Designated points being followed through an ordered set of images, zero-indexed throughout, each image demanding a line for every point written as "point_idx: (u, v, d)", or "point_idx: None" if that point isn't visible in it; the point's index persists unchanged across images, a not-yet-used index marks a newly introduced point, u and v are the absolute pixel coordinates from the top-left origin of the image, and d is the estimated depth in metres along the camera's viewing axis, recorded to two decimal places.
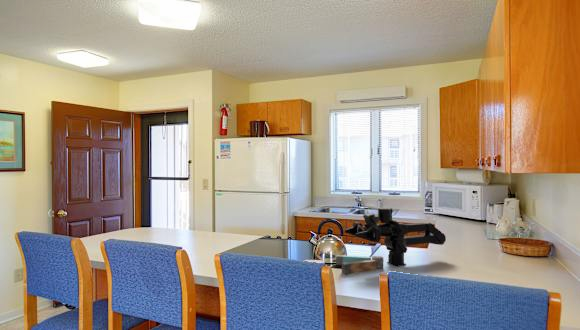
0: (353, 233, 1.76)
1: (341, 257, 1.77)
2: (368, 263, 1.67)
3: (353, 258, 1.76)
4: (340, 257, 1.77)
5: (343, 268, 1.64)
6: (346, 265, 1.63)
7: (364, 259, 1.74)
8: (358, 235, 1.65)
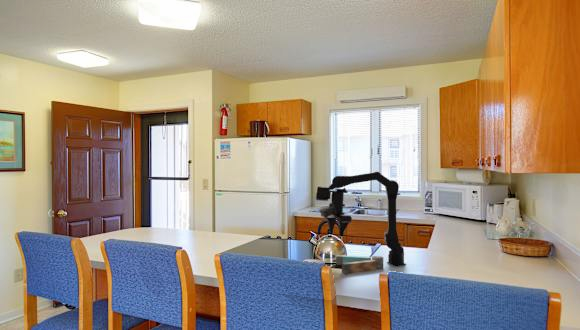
0: (333, 221, 1.89)
1: (341, 257, 1.77)
2: (368, 263, 1.67)
3: (353, 258, 1.76)
4: (340, 257, 1.77)
5: (343, 268, 1.64)
6: (346, 265, 1.63)
7: (364, 259, 1.74)
8: (341, 233, 1.79)
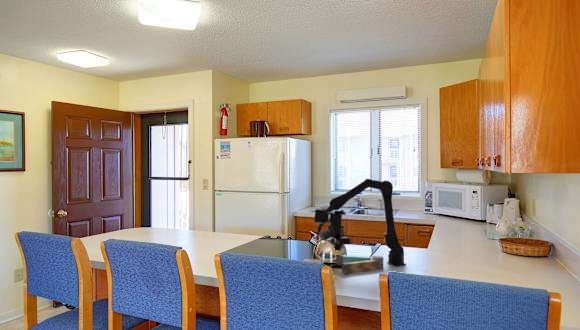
0: None
1: (341, 257, 1.77)
2: (368, 263, 1.67)
3: (353, 258, 1.76)
4: (340, 257, 1.77)
5: (343, 268, 1.64)
6: (346, 265, 1.63)
7: (364, 259, 1.74)
8: None
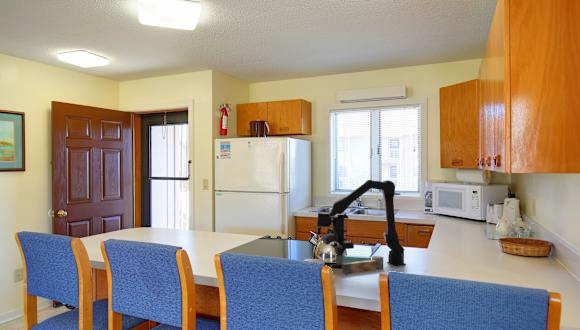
0: None
1: (341, 257, 1.76)
2: (368, 263, 1.67)
3: (353, 258, 1.75)
4: (340, 257, 1.77)
5: (343, 268, 1.64)
6: (346, 265, 1.63)
7: (364, 259, 1.74)
8: None
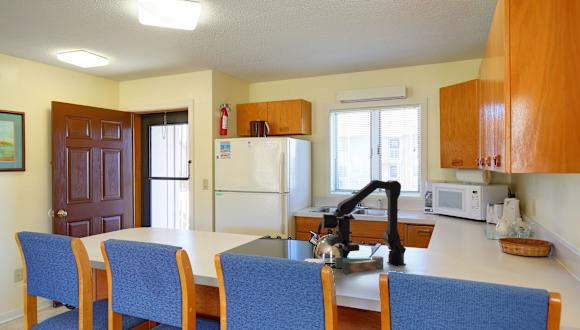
0: None
1: (341, 259, 1.72)
2: (368, 263, 1.67)
3: (353, 260, 1.73)
4: (340, 260, 1.72)
5: (343, 268, 1.64)
6: (346, 265, 1.63)
7: (364, 260, 1.73)
8: None
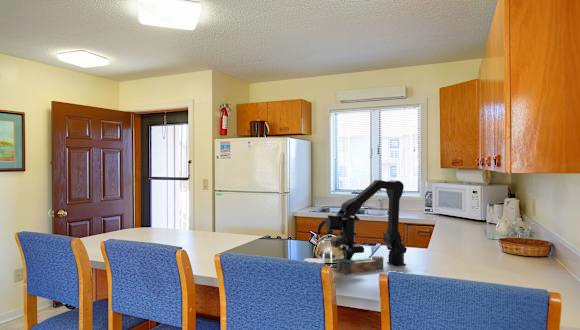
0: None
1: (344, 262, 1.68)
2: (368, 263, 1.67)
3: None
4: (343, 262, 1.67)
5: (343, 268, 1.64)
6: (346, 265, 1.63)
7: None
8: None
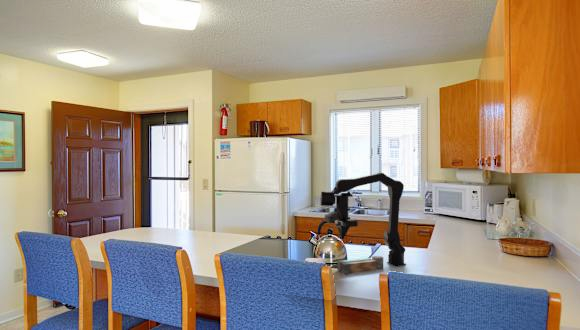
0: None
1: (345, 262, 1.67)
2: (368, 263, 1.67)
3: None
4: None
5: (343, 268, 1.64)
6: (346, 265, 1.63)
7: None
8: (343, 236, 1.77)
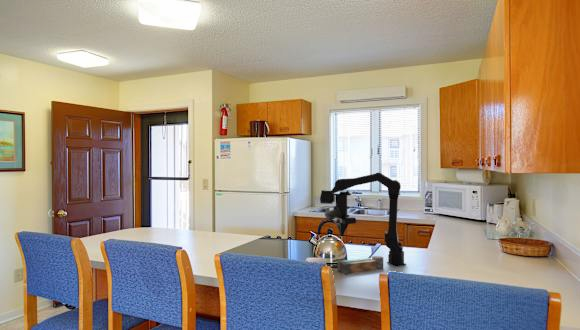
0: None
1: (345, 262, 1.67)
2: (368, 263, 1.67)
3: None
4: None
5: (343, 268, 1.64)
6: (346, 265, 1.63)
7: None
8: (342, 233, 1.86)
